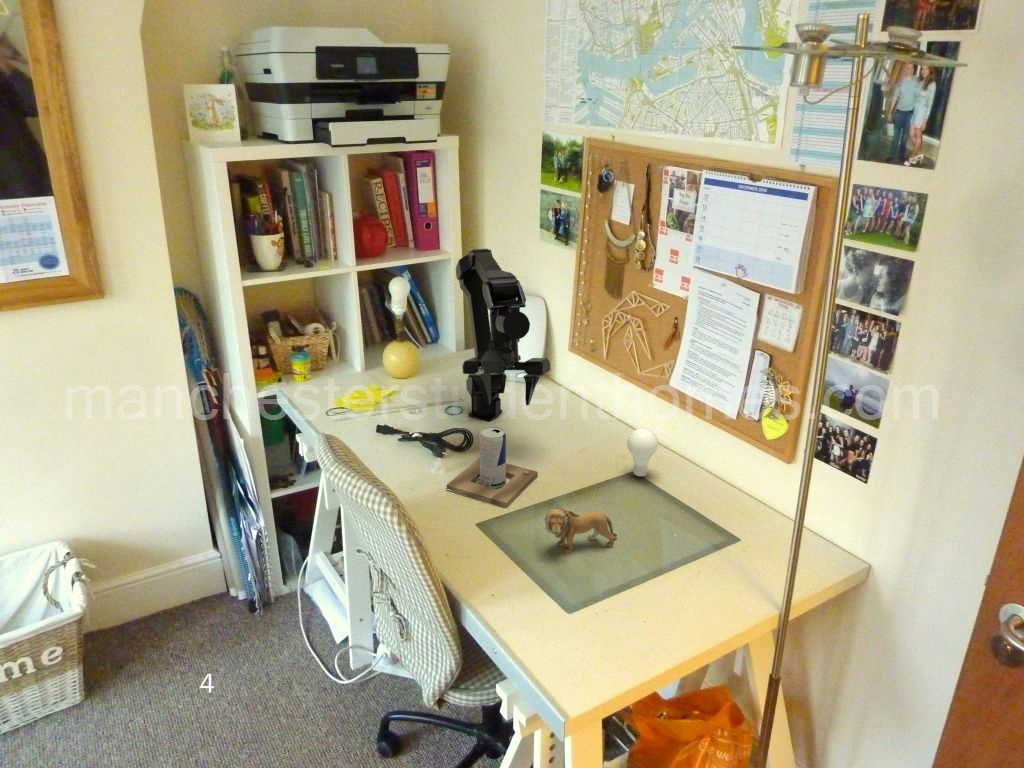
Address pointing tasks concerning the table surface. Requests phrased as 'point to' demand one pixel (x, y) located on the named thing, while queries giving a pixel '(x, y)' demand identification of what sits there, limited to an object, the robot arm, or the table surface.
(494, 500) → the pocket plate
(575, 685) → the table surface
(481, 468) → the energy drink
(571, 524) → the lion figurine
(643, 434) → the lightbulb
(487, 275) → the robot arm
